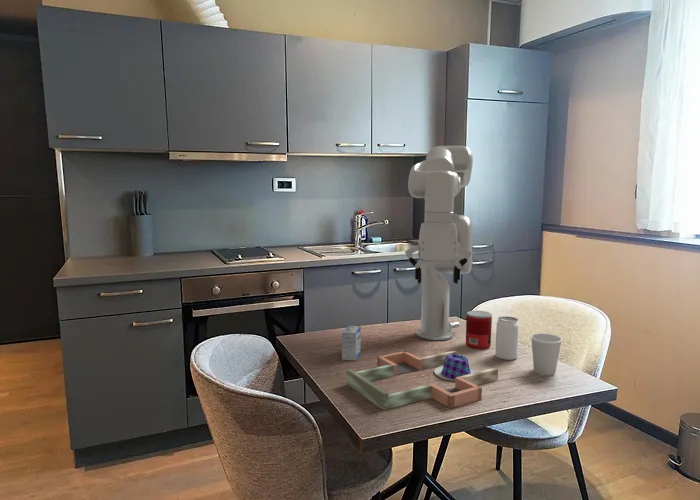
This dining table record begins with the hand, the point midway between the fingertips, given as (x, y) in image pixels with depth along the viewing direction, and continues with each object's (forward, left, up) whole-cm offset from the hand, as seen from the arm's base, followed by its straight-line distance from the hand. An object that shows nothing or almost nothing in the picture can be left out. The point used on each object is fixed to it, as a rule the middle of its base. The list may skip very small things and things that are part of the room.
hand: (437, 282), depth 134 cm
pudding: (-7, +1, -27) cm, 28 cm away
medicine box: (+11, -26, -27) cm, 39 cm away
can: (-30, -2, -27) cm, 40 cm away
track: (+4, +1, -26) cm, 27 cm away
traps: (+4, +1, -26) cm, 27 cm away
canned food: (-30, -14, -27) cm, 42 cm away
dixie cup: (-30, +12, -27) cm, 42 cm away
